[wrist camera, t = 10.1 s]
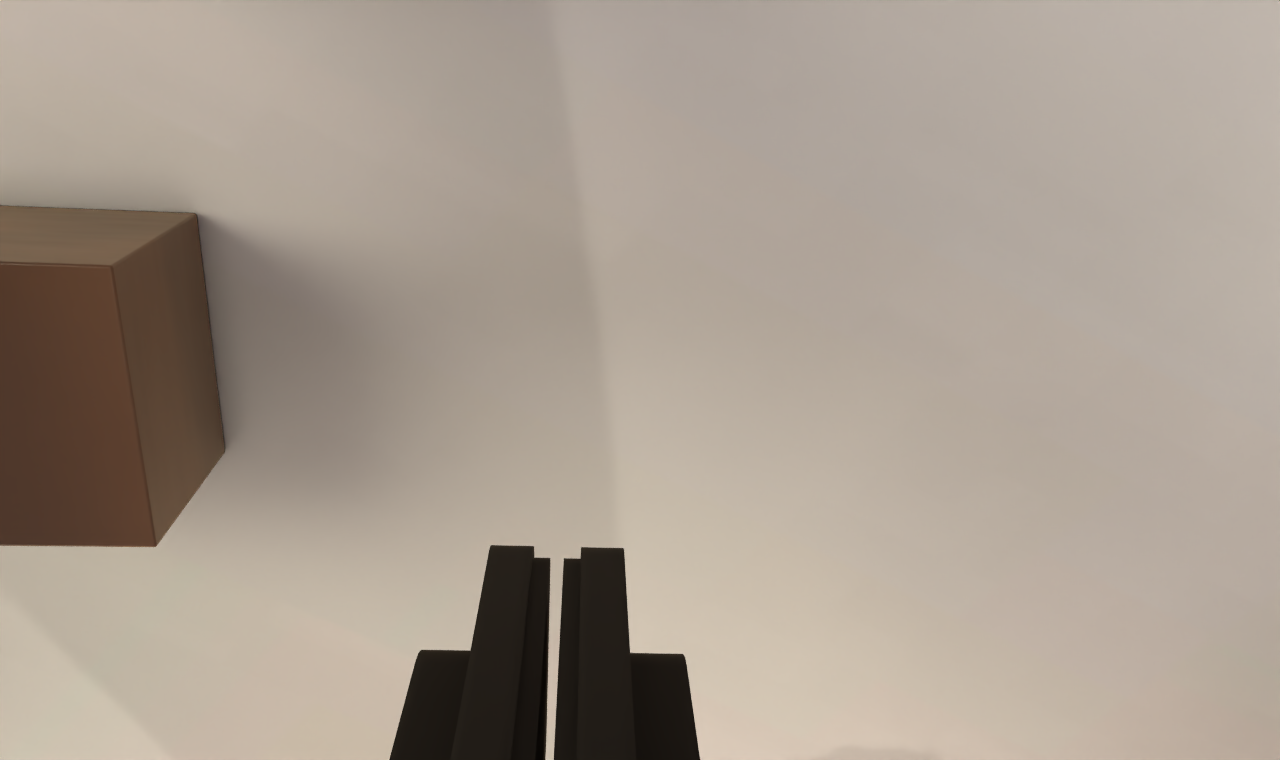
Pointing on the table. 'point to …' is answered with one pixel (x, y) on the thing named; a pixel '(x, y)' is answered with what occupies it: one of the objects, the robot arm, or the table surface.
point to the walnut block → (102, 375)
